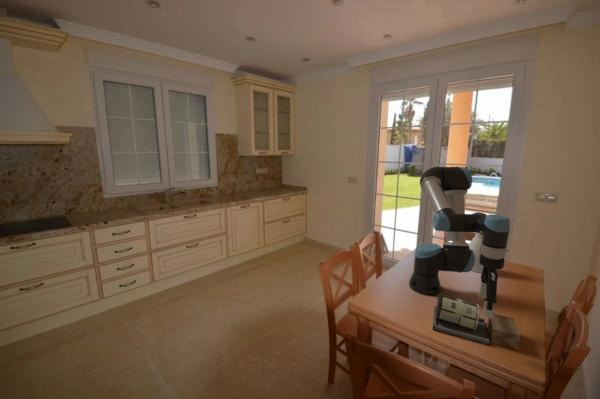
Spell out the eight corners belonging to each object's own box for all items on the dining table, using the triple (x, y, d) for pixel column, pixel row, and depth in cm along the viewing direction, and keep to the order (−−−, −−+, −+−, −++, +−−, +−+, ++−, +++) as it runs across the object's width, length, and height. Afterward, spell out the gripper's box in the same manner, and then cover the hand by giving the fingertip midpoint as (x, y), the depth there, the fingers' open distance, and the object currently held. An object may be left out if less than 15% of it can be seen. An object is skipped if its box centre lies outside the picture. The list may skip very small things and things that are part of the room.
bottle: (462, 269, 161) (467, 228, 156) (468, 263, 169) (473, 224, 164) (484, 275, 153) (489, 233, 148) (489, 269, 160) (494, 228, 155)
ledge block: (491, 342, 101) (493, 328, 100) (487, 325, 111) (489, 312, 110) (517, 350, 97) (520, 335, 96) (511, 331, 107) (513, 318, 106)
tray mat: (432, 329, 109) (432, 325, 108) (433, 309, 122) (434, 306, 121) (488, 345, 100) (489, 341, 100) (483, 322, 113) (484, 318, 113)
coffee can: (472, 317, 114) (436, 305, 120) (479, 299, 109) (440, 287, 115) (473, 336, 105) (434, 322, 112) (480, 318, 101) (439, 304, 107)
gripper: (512, 271, 88) (503, 328, 92) (498, 246, 110) (491, 293, 114) (484, 267, 92) (477, 322, 96) (477, 243, 113) (471, 289, 117)
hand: (485, 306), depth 105 cm, fingers open, 13 cm apart
